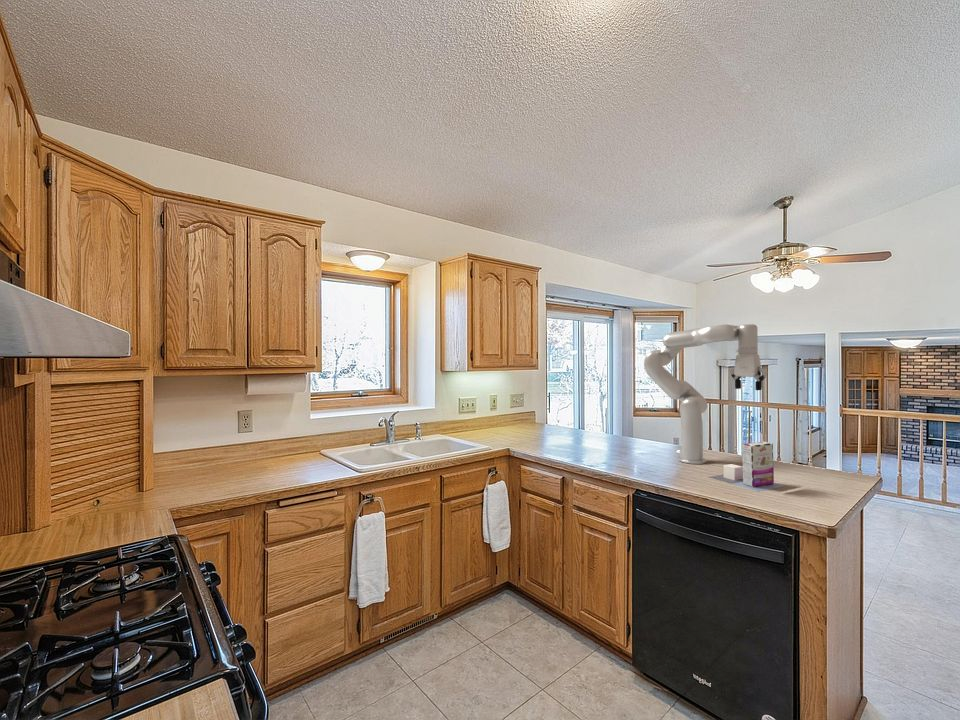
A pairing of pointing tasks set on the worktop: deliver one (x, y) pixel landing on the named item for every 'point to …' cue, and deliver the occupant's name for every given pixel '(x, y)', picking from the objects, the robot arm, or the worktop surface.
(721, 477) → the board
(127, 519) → the worktop surface
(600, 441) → the worktop surface
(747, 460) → the candy bar box
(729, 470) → the cream block
